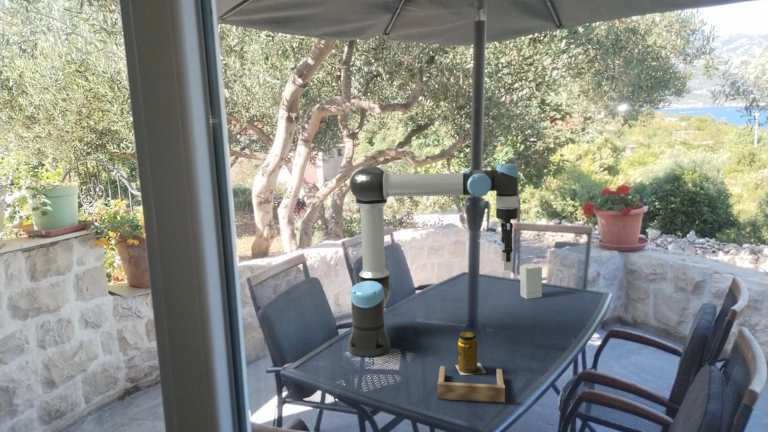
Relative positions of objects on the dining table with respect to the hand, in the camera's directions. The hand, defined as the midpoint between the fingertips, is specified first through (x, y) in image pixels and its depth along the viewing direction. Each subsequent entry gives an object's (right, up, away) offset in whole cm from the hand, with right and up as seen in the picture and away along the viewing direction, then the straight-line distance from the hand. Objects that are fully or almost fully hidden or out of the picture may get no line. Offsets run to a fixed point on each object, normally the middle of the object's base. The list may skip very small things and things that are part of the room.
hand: (506, 265), depth 180 cm
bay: (-18, -34, -31) cm, 49 cm away
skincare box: (+24, -20, +50) cm, 59 cm away
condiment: (-16, -32, -19) cm, 41 cm away
